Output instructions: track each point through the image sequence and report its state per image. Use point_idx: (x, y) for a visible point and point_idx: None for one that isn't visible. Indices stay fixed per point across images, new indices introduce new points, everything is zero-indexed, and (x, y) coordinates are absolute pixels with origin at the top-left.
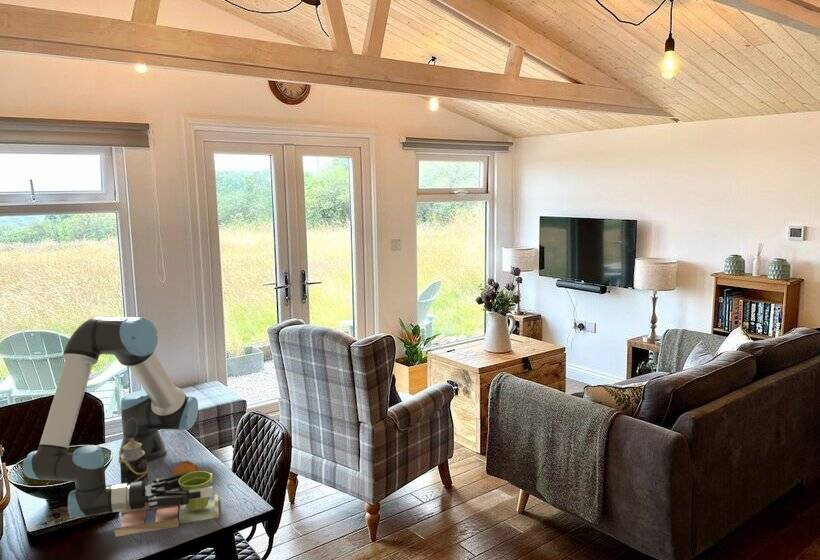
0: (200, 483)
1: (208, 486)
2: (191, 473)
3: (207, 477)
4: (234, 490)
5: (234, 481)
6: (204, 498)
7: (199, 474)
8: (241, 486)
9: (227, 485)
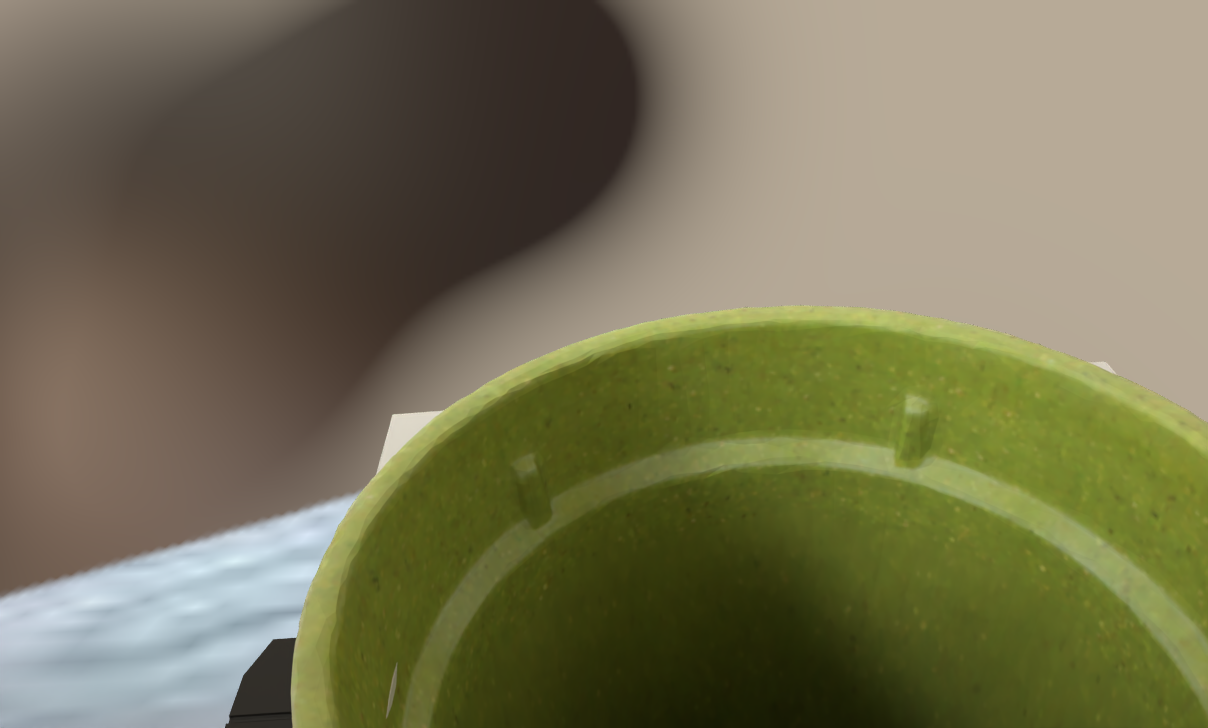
0: (501, 722)
1: (873, 498)
2: (340, 714)
3: (569, 471)
4: (295, 595)
5: (42, 606)
6: (956, 724)
7: (404, 577)
8: (238, 538)
9: (90, 673)
